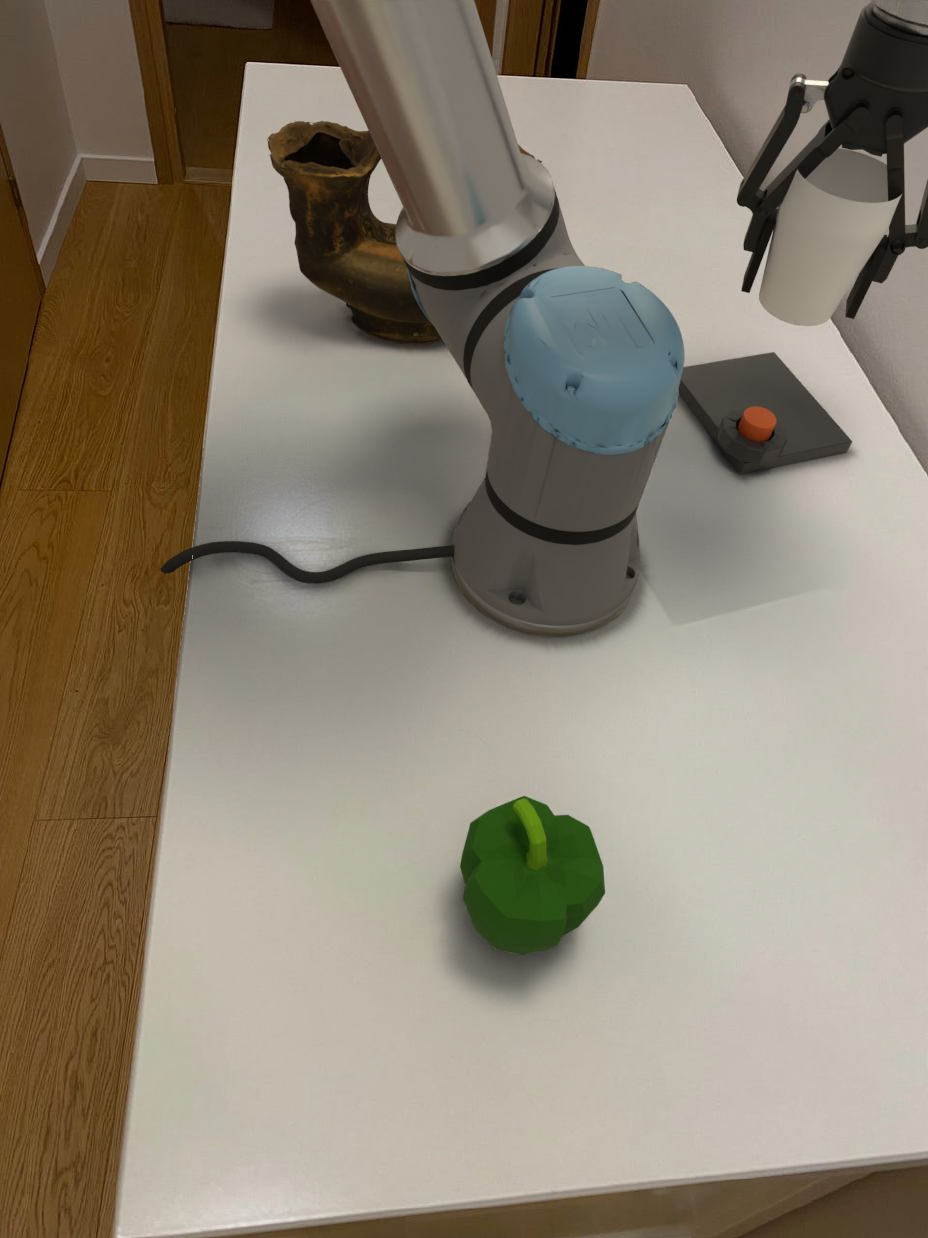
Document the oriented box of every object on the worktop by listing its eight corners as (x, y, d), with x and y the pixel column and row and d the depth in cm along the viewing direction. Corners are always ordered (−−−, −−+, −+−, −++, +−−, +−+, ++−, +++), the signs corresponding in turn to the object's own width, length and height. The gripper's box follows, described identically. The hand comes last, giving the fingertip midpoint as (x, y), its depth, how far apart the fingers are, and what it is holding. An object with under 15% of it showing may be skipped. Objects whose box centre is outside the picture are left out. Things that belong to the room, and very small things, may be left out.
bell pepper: (593, 971, 57) (632, 910, 50) (458, 978, 56) (476, 917, 49) (572, 842, 63) (605, 768, 55) (449, 846, 62) (464, 771, 54)
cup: (847, 344, 82) (911, 213, 73) (743, 323, 82) (794, 190, 73) (842, 287, 88) (901, 158, 78) (745, 268, 88) (793, 138, 79)
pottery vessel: (274, 344, 92) (259, 137, 76) (280, 280, 98) (268, 77, 83) (529, 355, 95) (565, 157, 79) (518, 292, 101) (549, 98, 86)
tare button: (748, 445, 85) (754, 430, 84) (731, 423, 87) (737, 408, 86) (776, 439, 86) (783, 425, 85) (759, 418, 88) (765, 403, 86)
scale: (733, 480, 86) (744, 455, 84) (659, 381, 94) (668, 356, 92) (849, 455, 90) (863, 431, 87) (769, 362, 98) (779, 338, 95)
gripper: (1066, 27, 68) (918, 303, 86) (772, -35, 70) (686, 247, 88) (1078, 67, 63) (918, 350, 81) (763, -1, 65) (674, 289, 83)
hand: (798, 296), depth 84 cm, fingers closed on cup, 9 cm apart
